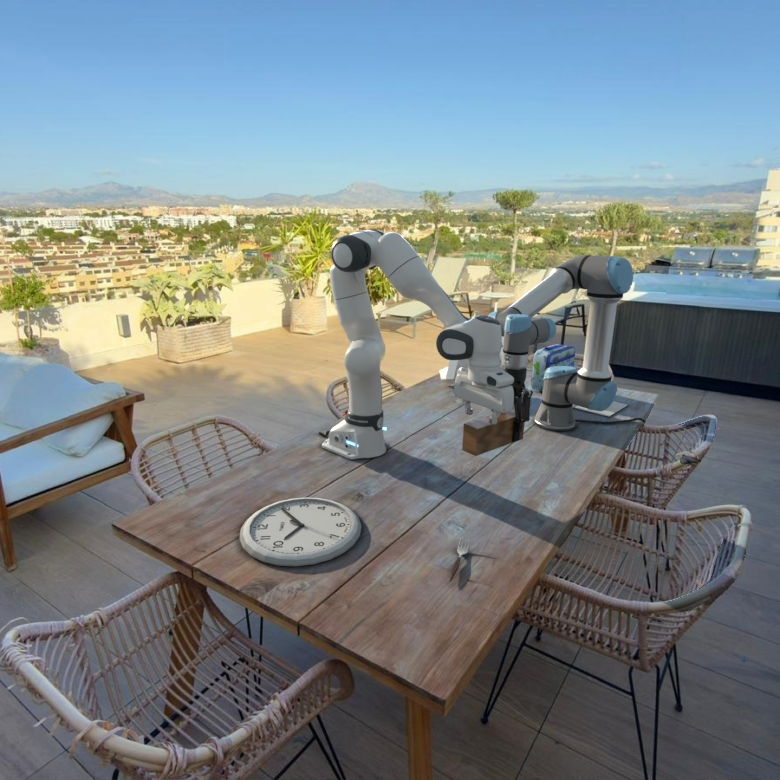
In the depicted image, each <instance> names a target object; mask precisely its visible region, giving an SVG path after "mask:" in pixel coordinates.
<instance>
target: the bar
mask: <svg viewBox="0 0 780 780" xmlns="http://www.w3.org/2000/svg"><path fill="white" fill-rule="evenodd" d="M493 415H494V413H492V414H491V415H487V416H484V417H481V418H478V419H474V420H471V421H470V420H469V421H467V422H464V423H463V429H462V430H463V431H462V433H463V434H462V445H461V446H462V447H461V450H462V451H463V452H466V453H467V454H470V455H472V456H474V457H478V456H481V455H483V454H485V453H488V452H492V451H494V450H496V449H499V448H503V447H505V446H508V445H510V444H513V443H514V442H512V435H513V424H514V422H515V421H516V417H515V410H514V409H512V410H511V411H510V412H507V413H501V414H500V415H499V417H498V418H497V423H496V424H491V423H489V421H490V420H489V418H490V417H493ZM525 423H526V422H524V423H523V427H522V432H520V440H519V441H521V440H523V439H524V431H525Z"/></svg>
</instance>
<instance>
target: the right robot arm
mask: <svg viewBox="0 0 780 780" xmlns="http://www.w3.org/2000/svg"><path fill="white" fill-rule="evenodd" d="M633 280H634V270H633V266H632V264H631V262H630V261H629V260H628V259H627V258H626V257H620V256H615V255H592V254H591V255H590V254H582V255H578V256H574V257H572V258H570V259H567V260H566V261H563V262H562V263H560V264H559V265H557V266H555V267H554V268H553V269H552V270H551V271H550V272H549V273H548V276H547V277H546V278H545V279H543V280H542V281H541V282H540V283H538V284H537V285H535V286H534V287H533V288H531V289H530V290H529V291H527V292H526V293H525V294H523V296H521V297H520V298H519V299H518V300H516V301H515V302H513V303H512V304H511V305H509V306H508V307H507V308H506V309H504V310H503V311H500V310H499V311H496V312H494V311H491V312H490V313H489V314H488V316H489V317H492V318H494V319H496V320H498V322H499V323H500V325H501V332H502V336H503V337H504V345H502V348H503V355H502V363H501V366H500V368H502V369H503V370H504V371H505V372H507V373H508V374H510V375H511V376H513V378H514V383H513V384H511V386H512V387H513V390H514V403H513V408H514V409H513V410H515V417H516V421H515V422H514V424H513V435H512V442H513V443H516V442H519V441H521V440H520V432H522V427H523V423H524V422H525V423H526V422H530V414H531V401H532V396H533V394H534V391H533V389H530V390H529V388H528V389H526V388H525V384H524V382H525V381H526V379H527V371H528V369H527V367H528V362H529V350H530V346H531V345H537V344H543V343H547V342H549V341H551V340H553V339H554V338H555V336H556V334H557V325H556V323H555V321H554V320H553V319H551V318H549V317H542V316H541V317H535V316H536V315H538V314H539V313H540V312H541V311H543V309H545V308H546V307H547V306H548V305H550V304H551V303H552V302H554V300H556V299H557V298H558V297H560V296H561V295H562V294H568V293H569V292H571V291H572V290H576V289H578V290H586V297H587V299H588V300H589V301H590V303H589V310H588V320H587V329H586V334H585V335H586V336H585V344H584V352H583V360H582V367H581V368H580V369H578V368H577V367H576V366H574V367H572V366H554V367H550V368H547V369H546V371H545V374H544V378H543V379H544V381H543V391H541V392H542V394H541V402H540V405H539V407H538V410H537V411H536V413H535V417H534V424H535V425H536V426H537V427H539V428H542V429H544V430H549V431H556V432H567V431H572V430H574V429H575V428H576V423H586V424H599V425H600V424H601V425H613V424H614V425H615V424H616V425H617V424H622V423H632V422H635V421H641V422H643V423H646V422H647V421H646V420H645V419H644V418H642V417H635V418H630V419H622V420H621V419H620V420H614V421H613V420H611V421H610V420H609V421H608V420H607V421H605V420H604V421H602V420H589V419H587V420H586V419H576V418H575V417H576V416H575V413H574V407H573V405H574V406H581V407H584V408H587V409H589V410H595V411H604V410H606V409H607V408H608V407H609V406H610V405H611V403H612V402H613V401H614V400H615V398H616V396H617V392H618V385H617V383H616V382H615V381H613V380H612V379H613V373H612V372H610V370H609V368H610V367H609V366H610V360H611V351H612V344H613V336H614V330H615V329H614V328H615V322H616V315H617V306H618V303H619V302H620V301H621V300H622V299H623V298H624V294H626V293H628V292H629V291H630V289H631V288H632V285H633V282H634V281H633ZM502 365H503V366H502ZM490 410H491V412H492V413H493V410H492V409H490ZM525 423H524V424H525Z"/></svg>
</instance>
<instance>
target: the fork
mask: <svg viewBox="0 0 780 780" xmlns="http://www.w3.org/2000/svg"><path fill="white" fill-rule="evenodd" d="M465 538H466V540H465ZM462 539H463V540H462ZM468 539H469V541H468ZM470 545H471V537H469V538H468V536H464V537H463V535H461V536H460V540H459V543H458V545H457V549H456V550H457V553H458V557H457V558H456V560H455V562H454V564H453V566H452V571H451V575H450V577H449V582H451V581H452V580H453V578H454V576H455V575H456V573H457V571H458V569H459V567H460V563H461V558H462V556H465V555H468V553H469V551H470Z"/></svg>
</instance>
